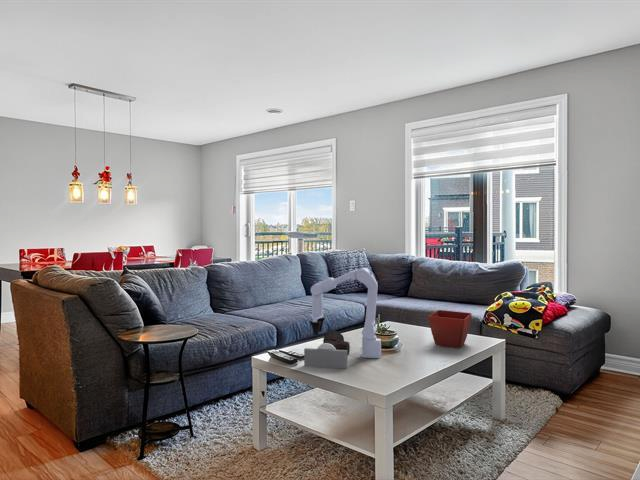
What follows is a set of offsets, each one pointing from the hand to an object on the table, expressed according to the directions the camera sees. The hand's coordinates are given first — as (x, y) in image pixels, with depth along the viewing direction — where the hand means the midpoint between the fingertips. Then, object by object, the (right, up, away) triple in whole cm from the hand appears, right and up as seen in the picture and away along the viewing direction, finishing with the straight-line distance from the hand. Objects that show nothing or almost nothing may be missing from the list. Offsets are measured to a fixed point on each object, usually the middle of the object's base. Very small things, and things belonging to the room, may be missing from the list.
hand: (317, 333), depth 239 cm
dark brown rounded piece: (+9, -10, +2) cm, 14 cm away
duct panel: (+4, -11, -24) cm, 26 cm away
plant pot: (+72, -10, +15) cm, 75 cm away
